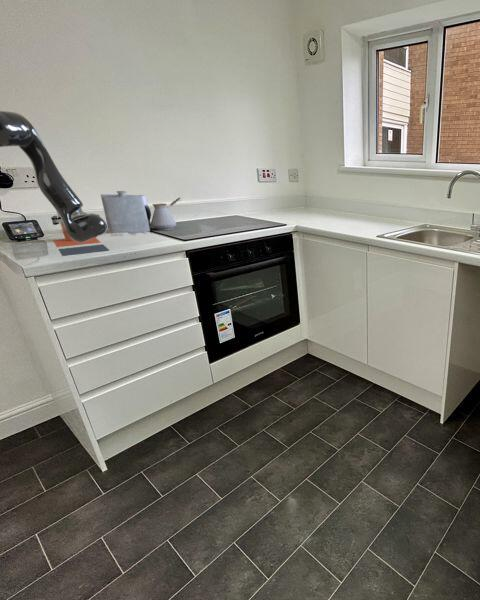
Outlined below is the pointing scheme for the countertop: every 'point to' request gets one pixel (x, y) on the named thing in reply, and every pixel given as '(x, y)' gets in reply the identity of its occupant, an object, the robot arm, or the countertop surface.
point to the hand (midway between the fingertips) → (73, 216)
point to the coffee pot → (163, 217)
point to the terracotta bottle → (65, 231)
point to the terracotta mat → (74, 242)
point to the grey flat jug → (132, 195)
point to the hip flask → (125, 213)
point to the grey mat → (83, 250)
